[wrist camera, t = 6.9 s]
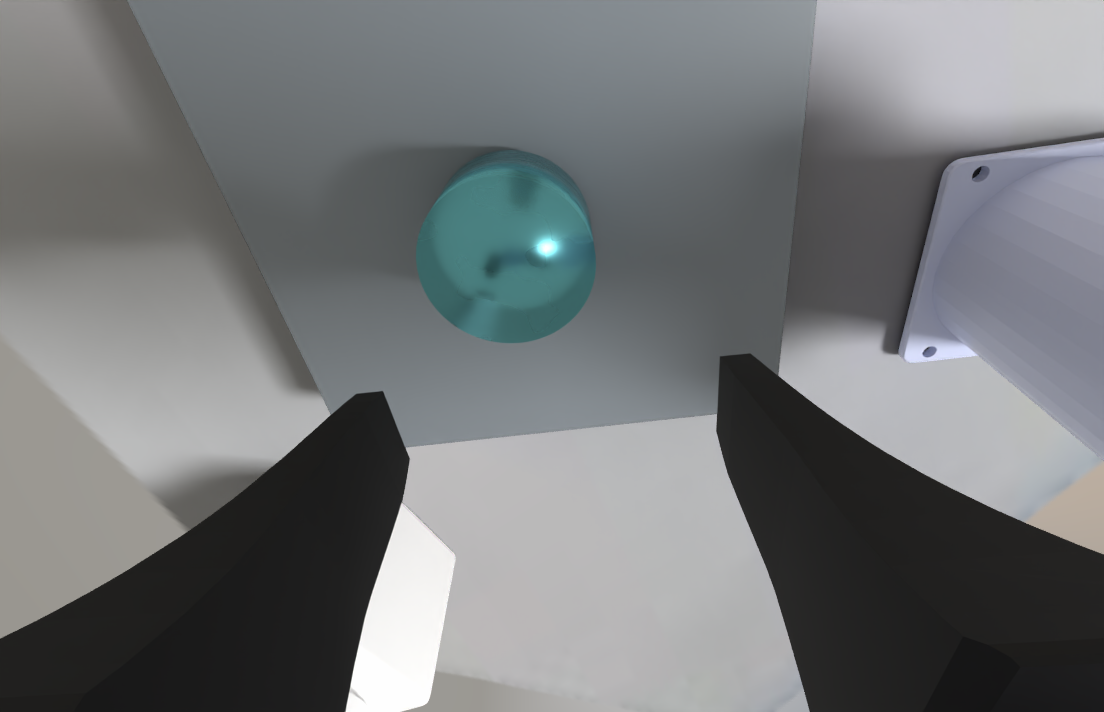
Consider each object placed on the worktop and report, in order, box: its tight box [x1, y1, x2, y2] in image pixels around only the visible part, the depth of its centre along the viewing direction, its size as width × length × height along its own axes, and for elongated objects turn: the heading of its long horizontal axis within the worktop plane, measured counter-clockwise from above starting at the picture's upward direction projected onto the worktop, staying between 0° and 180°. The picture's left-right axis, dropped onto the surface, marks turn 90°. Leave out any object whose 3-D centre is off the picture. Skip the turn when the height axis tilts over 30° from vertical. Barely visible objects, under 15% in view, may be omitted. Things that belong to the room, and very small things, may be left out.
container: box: [346, 503, 456, 712], centre depth 23 cm, size 8×8×13 cm
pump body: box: [127, 0, 817, 447], centre depth 17 cm, size 16×16×4 cm
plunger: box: [416, 150, 596, 343], centre depth 16 cm, size 4×4×6 cm
